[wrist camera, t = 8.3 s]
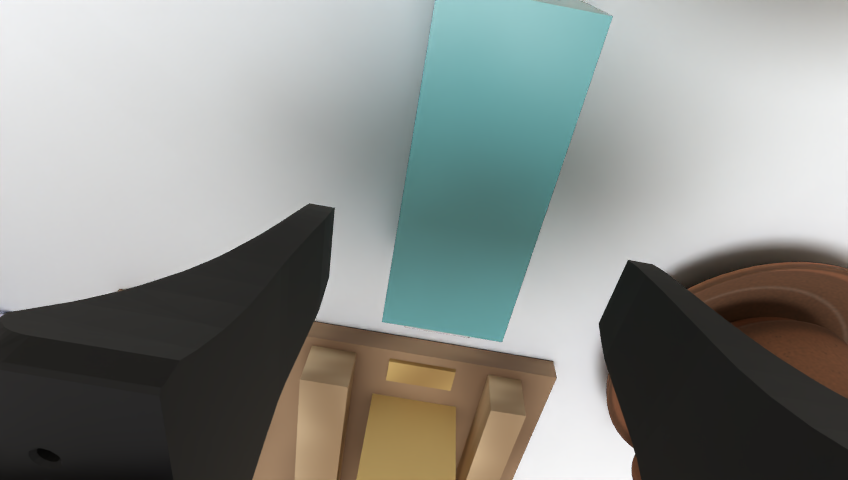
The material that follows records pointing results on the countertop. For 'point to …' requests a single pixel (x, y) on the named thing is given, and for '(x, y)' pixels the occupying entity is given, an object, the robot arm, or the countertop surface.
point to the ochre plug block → (408, 441)
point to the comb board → (404, 378)
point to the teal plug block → (487, 156)
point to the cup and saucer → (779, 321)
